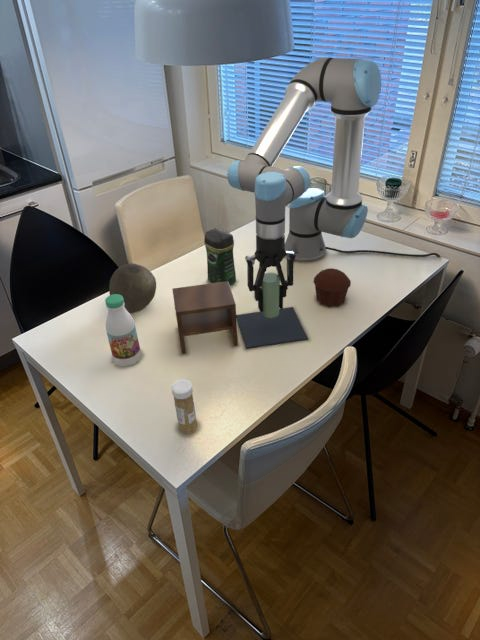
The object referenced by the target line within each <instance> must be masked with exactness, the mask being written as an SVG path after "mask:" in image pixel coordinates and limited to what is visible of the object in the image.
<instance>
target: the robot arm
mask: <svg viewBox="0 0 480 640" xmlns="http://www.w3.org/2000/svg"><path fill="white" fill-rule="evenodd" d="M381 74H382V73H381V70H380V68H379V65H378V64H377V63H376V62H375V61H373V60H367V59H362V58H347V57H346V58H345V57H331V56H329V57H327V56H326V57H321V58H320V57H319V58H317V59H315V60H313V61H310V63H307V65H305V66H304V67H302V68H301V69H300V70H299V71H298V72H297V73H296V74H295V75H294V76H293V77H292V79H290V81H289V82H288V84H287V86H286V87H285V90H284V95H285V96H284V97H283V98H282V100H281V101H280V103H279V105H278V106H277V108H276V109H275V111H274V113H273V115H271V118H270V119H269V121H268V122H267V123H266V125H265V126H264V129H263V130H262V132H261V133H260V135H259V136H258V138H257V139H256V141H255V142H254V144H253V146H252V147H251V149H250V151H249V152H248V154H247V155H246V157H245V158H244V160H241V159H240V160H238V159H237V160H234V161H232V162H231V163H230V164H229V166H228V169H227V173H226V175H227V176H226V179H227V182H228V184H229V186H230V187H232V188H233V189H236V190H239V191H242V192H250V193H253V194H254V200H255V202H254V203H255V205H254V206H255V248H256V249H255V252H254V254H252V255H251V256H249V255H246V256H245V257H244V259H245V262H246V265H247V268H246V269H247V271H246V272H247V273H246V275H247V278H246V280H247V283H246V285H247V288H248V290H249V292H254V293H253V297H254V300H255V302H257V307H258V308H257V309H258V310H259V312H263V292H262V290H261V285H262V281H263V278H264V274H265V273H267V272H266V271H267V269H269V268H271V267H273V268H274V267H275V269H276V272H277V274H278V275H279V277H280V309H283V308H284V298H286V297H287V290H288V289H289V288H288V287H293V286H294V263H295V261H296V262H303V263H307V262H315V261H318V260H321V259H322V258H323V257H324V256H325V255H326V250H329V251H332V252H333V251H334V252H338V253H341V254H355V253H356V254H357V253H371V254H383V255H392V256H401V257H413V258H426V257H430V256H436V257H438V258H440V257H441V255H440V254H439V253H437V252H430V253H426V254H416V253H415V254H412V253H401V252H400V253H399V252H391V251H383V250H370V249H358V250H357V249H356V250H341V249H338V248H335V247H330V246H326V244H325V240H324V237H323V233H325V234H330V235H333V236H337V237H340V238H347V239H354V238H356V237H357V236H358V235H359V234H360V232H361V230H362V229H363V227H364V224H365V222H366V220H367V216H368V211H369V210H368V205H366V204H365V203H364V204H363V195H362V194H360V193H359V187H360V186H359V185H360V175H361V166H362V165H361V163H362V155H363V144H364V133H365V132H364V131H365V121H366V117H367V116H368V115H369V114H370V113H371V112H372V108H373V107H375V106H376V105H377V103H378V101H379V99H380V94H381V90H382V75H381ZM320 102H324V103H329V104H330V113H331V114H332V115H333V116H334V117H335V120H334V121H335V122H334V139H333V154H332V155H333V157H332V171H331V173H332V174H331V189H330V192H329V193H327V195H326V196H325V191H324V190H323V189H321V188H318V187H317V188H316V187H311V188H310V186H311V176H310V173H309V172H308V171H307V169H306V168H304V167H303V166H300V165H294V166H291V167H289V168H282V167H281V168H280V167H275V166H274V165H275V164H276V162H277V160H278V159H279V157H280V155H281V153H282V152H283V150H284V148H285V147H286V145H287V144H288V142H289V140H290V139H291V137H292V135H293V134H294V132H295V131H296V129H297V127H298V126H299V124H300V122H301V121H302V119H303V118H304V116H305V114H306V113H307V111H311V110H312V109H313V108H314V106H315V105H316V104H317V103H320ZM286 206H288V209H289V213H288V215H289V216H288V218H289V220H288V223H289V224H288V226H289V227H288V234H287V237H286V235H285V232H286ZM285 258H286V278H285V275H284V271H283V267H282V263H281V262H282V261H283V260H284V259H285ZM255 261H257V262H258V263H259V264H258V266H259V267H258V268H257V273H256V276H255V278H254V273H255V272H254V270H255V268H254V265H255V263H256V262H255ZM254 279H255V281H254Z"/></svg>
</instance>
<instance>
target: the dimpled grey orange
mask: <svg viewBox="0 0 480 640" xmlns="http://www.w3.org/2000/svg"><path fill="white" fill-rule="evenodd" d="M108 289H109V290H108V291H109V292H108V293H109V296H110V295H113V294H119V295H121V296H122V297H123V299H124V307H125V309H126V310H127V311H128V313H129V314H134V313H138V312H141V311H143V310H144V309H146V308H147V307H148V306H149V305H150V303H151V302H152V301H153V300H154V297H155V295H156V291H157V280H156V277H155V275H154V274H153V273H152V271H150V269H148V268H147V267H145V266H143V265H141V264H138V263H125V264H123V265H121V266H119V267H118V268H116V270H115V271H114V272H113V273H112V275H111V277H110V280H109V287H108Z"/></svg>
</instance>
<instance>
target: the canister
mask: <svg viewBox="0 0 480 640" xmlns="http://www.w3.org/2000/svg"><path fill="white" fill-rule="evenodd" d="M280 285H281V282H280V277H279V275H278V273H276V272H265V274H264V278H263V281H262V285H261V290H262V292H263V312H262V315H263V316H264V317H267V318H274V317H277V316H278V315H279V313H280Z"/></svg>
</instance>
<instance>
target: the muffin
mask: <svg viewBox="0 0 480 640" xmlns="http://www.w3.org/2000/svg"><path fill="white" fill-rule="evenodd" d="M312 283H313V284H314V288H315V297H316V301H317V302H318V303H319V305H321V306H324V307H328V308H336V307H337V308H338V307H340V306H341V305H344V304H345V301H346V297H347V294H348V290H349V289H350V287H351V285H352V280H350V278H349V277H348V275H346V273H345V272H344V271H342V270H340V269H339V268H333V267H332V268H331V267H330V268H325V269H322V270H320V271H319V272H317V274H316V275H315V276H314V277H313V282H312Z"/></svg>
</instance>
